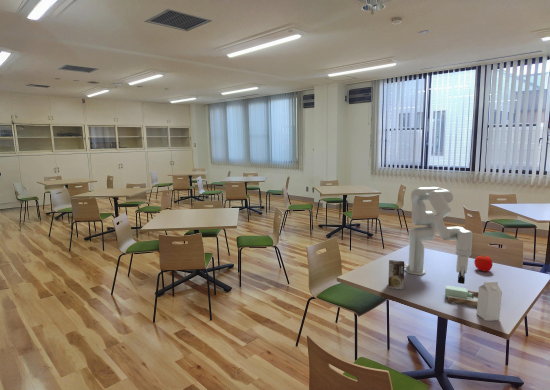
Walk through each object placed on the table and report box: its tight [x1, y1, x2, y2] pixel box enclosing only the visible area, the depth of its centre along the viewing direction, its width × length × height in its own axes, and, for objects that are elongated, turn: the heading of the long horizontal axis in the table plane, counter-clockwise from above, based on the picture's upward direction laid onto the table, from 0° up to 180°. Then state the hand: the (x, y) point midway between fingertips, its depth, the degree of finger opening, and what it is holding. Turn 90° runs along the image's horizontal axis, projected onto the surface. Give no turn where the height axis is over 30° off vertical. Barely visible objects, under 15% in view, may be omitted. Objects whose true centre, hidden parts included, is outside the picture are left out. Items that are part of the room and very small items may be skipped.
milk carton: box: [476, 281, 503, 322], centre depth 169 cm, size 7×7×19 cm
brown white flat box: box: [447, 289, 478, 308], centre depth 189 cm, size 20×14×4 cm
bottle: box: [444, 284, 474, 299], centre depth 190 cm, size 5×5×14 cm
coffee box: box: [387, 259, 406, 291], centre depth 206 cm, size 9×6×16 cm
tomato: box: [474, 254, 493, 272], centre depth 232 cm, size 10×11×11 cm
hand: (461, 282), depth 189 cm, fingers closed
